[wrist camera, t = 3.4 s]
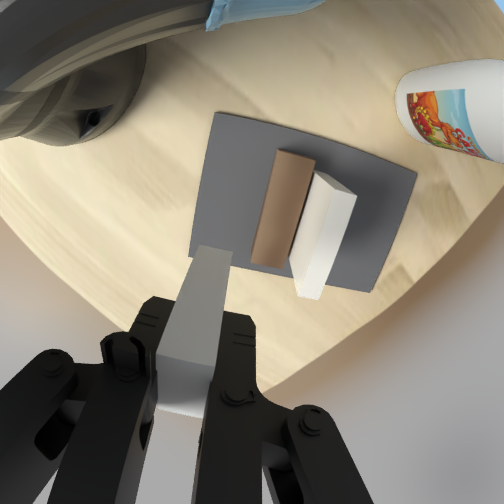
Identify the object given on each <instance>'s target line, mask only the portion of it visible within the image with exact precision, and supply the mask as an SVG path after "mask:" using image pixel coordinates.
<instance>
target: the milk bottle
mask: <svg viewBox="0 0 504 504" xmlns="http://www.w3.org/2000/svg"><path fill="white" fill-rule="evenodd" d="M395 107H396V112H397V115H398V118H399V120H400V122H401V124H402V125H403V127H404V128H405V130H406V131H407V132H408V133H409V134H410V135H411V136H412V137H413V138H415V139H416V140H418V141H420V142H422V143H425V144H429V145H433V146H437V147H442V148H446V149H450V150H454V151H458V152H462V153H465V154H469V155H473V156H476V157H480V158H484V159H487V160H491V161H495V162H499V163H502V164H504V61H503V60H497V59H477V60H467V61H460V62H453V63H447V64H441V65H436V66H431V67H427V68H422V69H418V70H414V71H411V72H409V73H407V74H406V75H404V76H403V77H402V79H401V80H400V82H399V83H398V86H397V89H396V93H395Z"/></svg>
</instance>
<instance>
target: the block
mask: <svg viewBox="0 0 504 504" xmlns="http://www.w3.org/2000/svg"><path fill="white" fill-rule="evenodd" d="M315 162H316V161H315V160H314V159H312V158H310V157H307V156H303V155H300V154H296V153H292V152H288V151H284V150H281V149H277V150H276V154H275V158H274V162H273V166H272V170H271V174H270V178H269V182H268V185H267V189H266V193H265V197H264V201H263V205H262V209H261V213H260V217H259V221H258V225H257V229H256V233H255V237H254V241H253V244H252V248H251V263H254V264H259V265H264V266H269V267H274V268H278V269H283V268H284V265H285V262H286V259H287V256H288V252H289V249H290V246H291V243H292V240H293V236H294V233H295V230H296V227H297V223H298V220H299V217H300V213H301V210H302V207H303V203H304V200H305V197H306V193H307V190H308V186H309V183H310V179H311V176H312V172H313V169H314V165H315Z"/></svg>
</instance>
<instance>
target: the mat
mask: <svg viewBox="0 0 504 504" xmlns="http://www.w3.org/2000/svg"><path fill="white" fill-rule="evenodd" d="M277 149H281V150H284V151H288V152H292V153H296V154H300V155H303V156H307V157H310V158H312V159H314V160H315V161H316V162H315V165H314V169H313V170H316V171H319V172H323V173H326V174H328V175H329V176H331V177H332V178H334V179H335V180H336V181H338V182H339V183H341V184H342V185H343V186H345V187H346V188H347V189H349V190H350V191H351V192H353V193H354V194H355V195H357V198H356V201H355V204H354V207H353V210H352V213H351V216H350V219H349V222H348V225H347V227H346V230H345V233H344V236H343V238H342V241H341V244H340V247H339V249H338V252H337V254H336V257H335V260H334V262H333V265H332V267H331V270H330V272H329V275H328V278H327V280H326V282H325V285H330V286H336V287H341V288H346V289H351V290H357V291H362V292H368V293H370V292H371V289H372V287H373V285H374V283H375V281H376V279H377V277H378V275H379V272H380V270H381V268H382V266H383V263H384V261H385V259H386V257H387V254H388V252H389V249H390V247H391V245H392V242H393V240H394V237H395V235H396V232H397V230H398V227H399V225H400V222H401V219H402V217H403V214H404V211H405V209H406V206H407V203H408V200H409V197H410V194H411V191H412V188H413V185H414V182H415V179H416V176H417V174H416V173H414V172H412V171H410V170H407V169H405V168H403V167H400V166H398V165H396V164H393V163H391V162H388V161H386V160H383V159H381V158H378V157H376V156H373V155H370V154H368V153H365V152H362V151H359V150H357V149H354V148H351V147H348V146H345V145H342V144H339V143H336V142H333V141H330V140H327V139H324V138H320V137H317V136H314V135H310V134H307V133H303V132H300V131H296V130H293V129H289V128H285V127H281V126H277V125H273V124H269V123H265V122H260V121H256V120H251V119H247V118H242V117H237V116H232V115H227V114H221V113H216V112H215V113H214V118H213V122H212V126H211V131H210V136H209V140H208V145H207V150H206V155H205V160H204V165H203V170H202V175H201V181H200V186H199V192H198V198H197V203H196V209H195V215H194V221H193V228H192V234H191V241H190V248H189V255H188V257H192V258H194V256H195V253H196V251H197V249H198V246H199V245H203V246H208V247H212V248H217V249H222V250H226V251H231V252H232V259H231V265H230V266H235V267H240V268H244V269H249V270H254V271H259V272H264V273H269V274H274V275H279V276H284V277H289V278H293V273H292V269H291V265H290V261H289V257H288V256H287V259H286V262H285V265H284V268H283V269H278V268H274V267H269V266H264V265H259V264H254V263H251V248H252V244H253V241H254V237H255V233H256V229H257V225H258V221H259V217H260V213H261V209H262V205H263V201H264V197H265V193H266V189H267V185H268V182H269V178H270V174H271V170H272V166H273V162H274V158H275V154H276V150H277Z"/></svg>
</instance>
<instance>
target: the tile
mask: <svg viewBox="0 0 504 504" xmlns="http://www.w3.org/2000/svg"><path fill="white" fill-rule="evenodd" d="M356 198H357V195H355V194H354V193H353V192H351V191H350V190H349V189H347V188H346V187H345V186H343V185H342V184H341V183H339V182H338V181H336V180H335V179H334V178H332V177H331V176H329V175H328V174H326V173H323V172H319V171H316V170H313V172H312V176H311V179H310V183H309V186H308V190H307V193H306V197H305V200H304V203H303V207H302V210H301V213H300V217H299V220H298V223H297V227H296V230H295V233H294V236H293V240H292V243H291V246H290V249H289V252H288V257H289V261H290V265H291V269H292V273H293V278H294V282H295V286H296V291H297V295H298V296H299V297H305V298H310V299H316V300H318V299H319V297H320V295H321V292H322V290H323V287H324V285H325V282H326V280H327V278H328V275H329V272H330V270H331V267H332V265H333V262H334V260H335V257H336V254H337V252H338V249H339V247H340V244H341V241H342V238H343V236H344V233H345V230H346V227H347V225H348V222H349V219H350V216H351V213H352V210H353V207H354V204H355V201H356Z"/></svg>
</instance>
